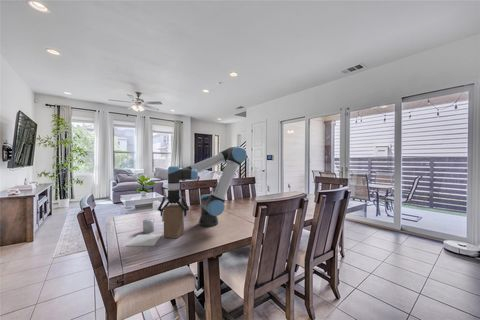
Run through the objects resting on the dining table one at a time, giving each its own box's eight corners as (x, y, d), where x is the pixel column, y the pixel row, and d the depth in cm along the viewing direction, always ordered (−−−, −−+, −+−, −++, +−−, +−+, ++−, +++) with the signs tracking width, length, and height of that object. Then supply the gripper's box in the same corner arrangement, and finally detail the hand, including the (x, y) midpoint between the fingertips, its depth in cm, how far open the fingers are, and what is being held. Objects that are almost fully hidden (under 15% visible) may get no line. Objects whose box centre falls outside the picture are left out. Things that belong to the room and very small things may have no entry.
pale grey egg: (155, 229, 148) (155, 218, 148) (151, 233, 141) (151, 221, 141) (145, 229, 148) (145, 218, 147) (141, 233, 141) (141, 221, 140)
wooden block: (177, 239, 131) (176, 208, 130) (163, 237, 133) (162, 207, 132) (184, 233, 141) (184, 204, 140) (171, 232, 143) (171, 203, 142)
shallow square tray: (162, 235, 137) (162, 233, 137) (154, 245, 121) (154, 244, 121) (137, 235, 136) (137, 234, 136) (126, 246, 120) (126, 244, 120)
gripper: (193, 188, 141) (193, 219, 141) (156, 188, 139) (156, 219, 139) (191, 190, 133) (191, 222, 134) (152, 190, 132) (152, 223, 132)
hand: (173, 221), depth 136 cm, fingers open, 13 cm apart
